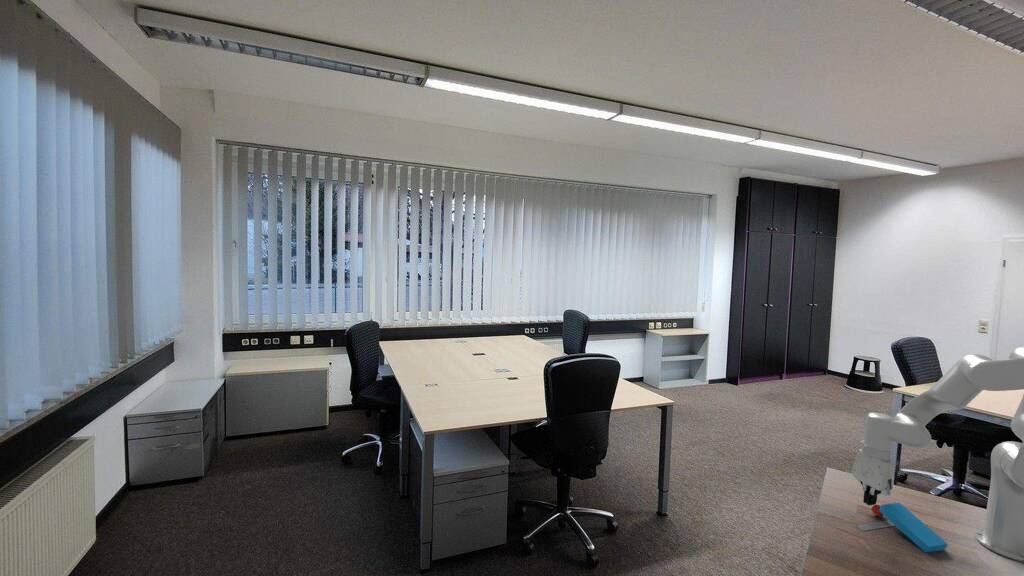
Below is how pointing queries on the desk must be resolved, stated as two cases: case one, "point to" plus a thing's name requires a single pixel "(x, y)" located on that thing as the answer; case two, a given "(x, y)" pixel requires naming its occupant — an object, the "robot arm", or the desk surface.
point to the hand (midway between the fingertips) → (869, 503)
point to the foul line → (875, 525)
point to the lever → (911, 526)
